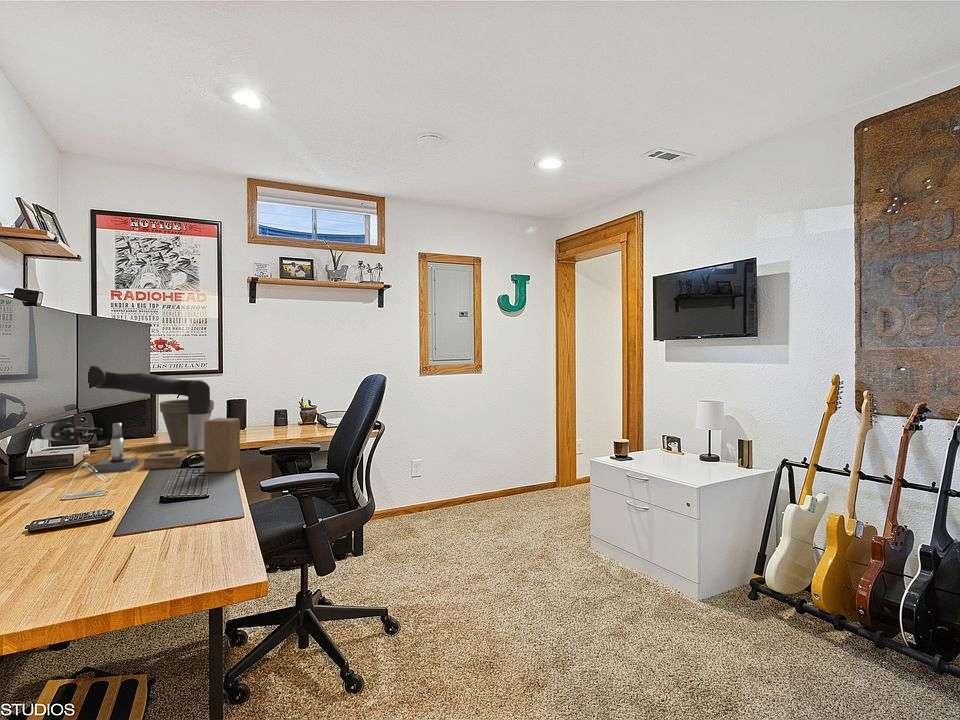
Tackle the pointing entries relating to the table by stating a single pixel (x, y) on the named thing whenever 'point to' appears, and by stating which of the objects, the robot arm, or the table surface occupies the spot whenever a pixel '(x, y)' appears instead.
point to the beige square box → (164, 460)
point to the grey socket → (117, 465)
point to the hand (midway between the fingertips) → (92, 433)
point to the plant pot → (177, 419)
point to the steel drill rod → (117, 443)
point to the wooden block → (221, 444)
